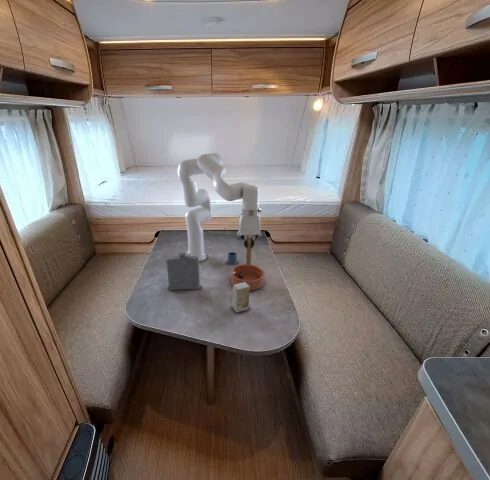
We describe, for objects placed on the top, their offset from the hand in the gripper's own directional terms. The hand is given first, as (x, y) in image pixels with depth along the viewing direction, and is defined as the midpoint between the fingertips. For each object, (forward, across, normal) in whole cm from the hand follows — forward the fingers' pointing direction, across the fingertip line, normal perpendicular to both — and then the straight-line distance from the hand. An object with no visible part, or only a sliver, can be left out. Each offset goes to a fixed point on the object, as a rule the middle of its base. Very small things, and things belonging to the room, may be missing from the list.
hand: (248, 247), depth 133 cm
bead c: (+19, -2, +4) cm, 19 cm away
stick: (+11, 0, 0) cm, 11 cm away
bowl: (+21, 0, 0) cm, 21 cm away
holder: (+20, +6, -22) cm, 31 cm away
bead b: (+19, +3, +3) cm, 19 cm away
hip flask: (+21, +33, +4) cm, 39 cm away
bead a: (+19, +3, -3) cm, 19 cm away
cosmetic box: (+21, +6, +22) cm, 31 cm away
